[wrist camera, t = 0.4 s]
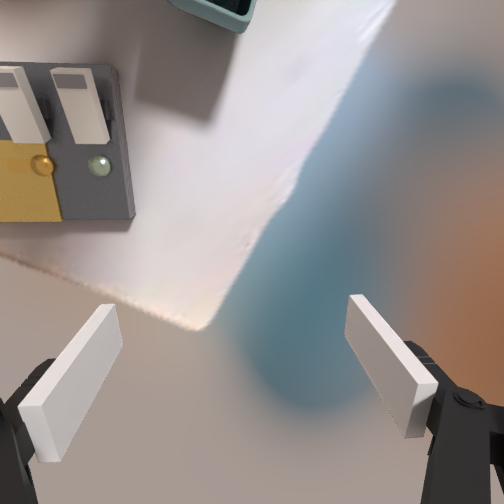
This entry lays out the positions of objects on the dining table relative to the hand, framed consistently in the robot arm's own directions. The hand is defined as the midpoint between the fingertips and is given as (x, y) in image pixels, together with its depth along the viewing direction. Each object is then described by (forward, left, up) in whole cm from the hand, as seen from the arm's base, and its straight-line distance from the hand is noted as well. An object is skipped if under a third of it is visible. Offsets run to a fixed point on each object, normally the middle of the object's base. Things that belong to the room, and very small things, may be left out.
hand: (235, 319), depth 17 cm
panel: (-9, -22, -26) cm, 35 cm away
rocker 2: (-13, -16, -21) cm, 29 cm away
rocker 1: (-13, -22, -21) cm, 33 cm away
